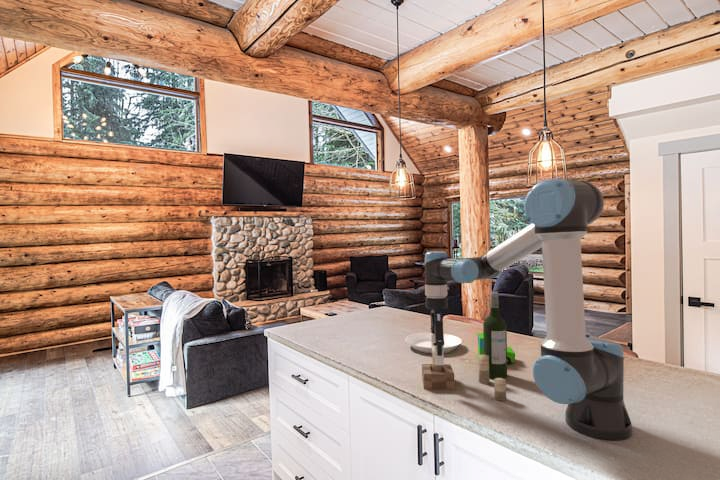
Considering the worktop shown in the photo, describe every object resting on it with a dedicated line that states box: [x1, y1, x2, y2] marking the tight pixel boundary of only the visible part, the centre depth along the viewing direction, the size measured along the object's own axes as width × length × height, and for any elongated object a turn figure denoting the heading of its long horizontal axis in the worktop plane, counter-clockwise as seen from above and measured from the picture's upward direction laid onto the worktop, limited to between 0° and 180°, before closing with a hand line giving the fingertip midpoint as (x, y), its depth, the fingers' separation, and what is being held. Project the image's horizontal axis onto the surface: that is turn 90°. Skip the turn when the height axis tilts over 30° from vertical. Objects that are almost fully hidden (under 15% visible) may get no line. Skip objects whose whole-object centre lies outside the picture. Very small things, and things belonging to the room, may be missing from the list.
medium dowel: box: [478, 355, 490, 385], centre depth 138 cm, size 3×3×9 cm
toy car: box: [477, 332, 516, 366], centre depth 159 cm, size 10×13×10 cm
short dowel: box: [493, 378, 507, 402], centre depth 124 cm, size 3×3×6 cm
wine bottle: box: [482, 291, 508, 380], centre depth 143 cm, size 8×8×30 cm
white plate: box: [405, 332, 463, 354], centre depth 180 cm, size 25×25×4 cm
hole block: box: [421, 363, 456, 390], centre depth 137 cm, size 10×10×5 cm
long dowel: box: [431, 342, 443, 371], centre depth 137 cm, size 3×3×14 cm
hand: (437, 358), depth 137 cm, fingers open, 13 cm apart
